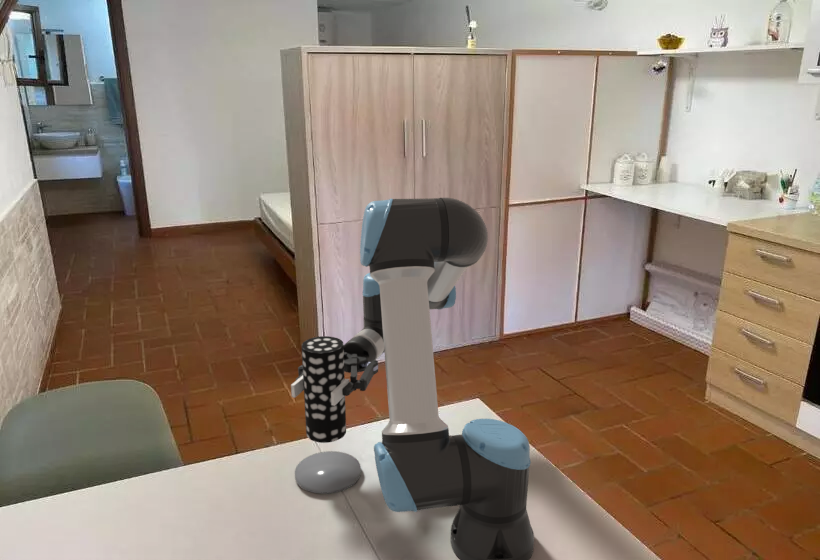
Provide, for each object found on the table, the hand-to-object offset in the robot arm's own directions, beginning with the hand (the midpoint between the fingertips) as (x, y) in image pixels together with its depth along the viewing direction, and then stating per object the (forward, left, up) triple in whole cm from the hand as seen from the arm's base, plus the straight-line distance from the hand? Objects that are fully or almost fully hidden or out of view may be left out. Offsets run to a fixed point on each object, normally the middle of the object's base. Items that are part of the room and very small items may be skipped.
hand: (312, 395), depth 125 cm
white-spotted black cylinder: (+2, -5, -11) cm, 12 cm away
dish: (+1, -4, -21) cm, 22 cm away
